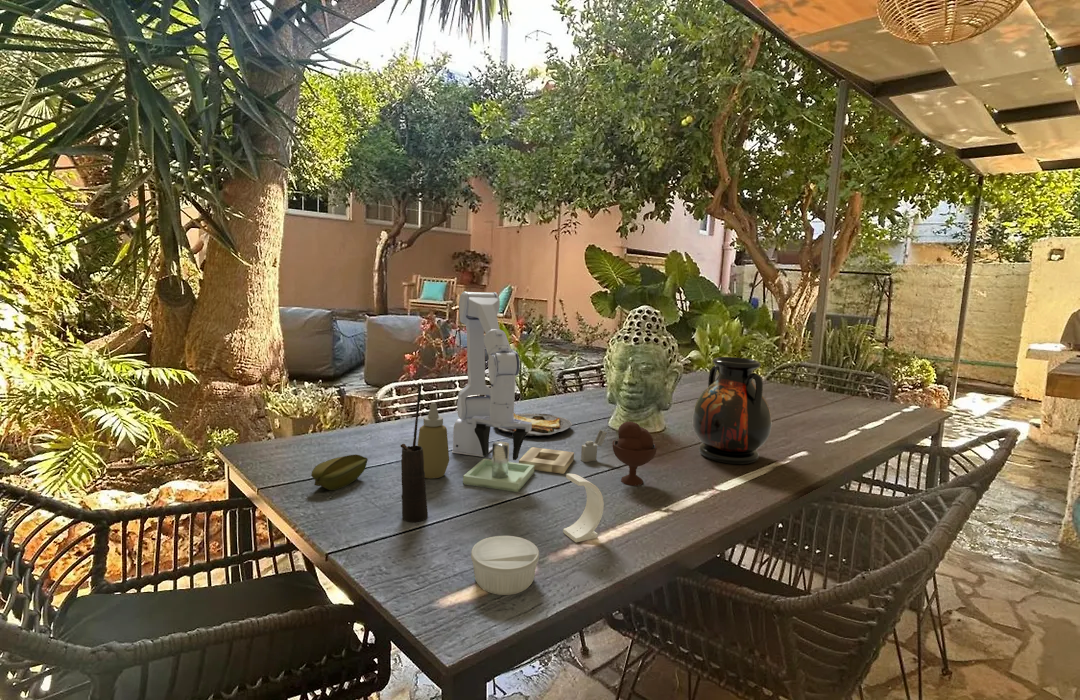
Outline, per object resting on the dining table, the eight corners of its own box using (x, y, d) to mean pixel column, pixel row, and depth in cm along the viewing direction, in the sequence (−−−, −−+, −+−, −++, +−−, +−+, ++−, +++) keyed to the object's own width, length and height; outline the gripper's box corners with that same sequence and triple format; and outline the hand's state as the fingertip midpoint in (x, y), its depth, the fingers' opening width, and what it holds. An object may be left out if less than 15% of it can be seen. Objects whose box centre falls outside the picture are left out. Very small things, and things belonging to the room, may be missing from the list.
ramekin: (503, 608, 88) (505, 576, 88) (455, 580, 96) (456, 550, 95) (552, 581, 97) (553, 551, 96) (504, 557, 104) (505, 529, 103)
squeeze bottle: (454, 472, 145) (456, 401, 143) (438, 483, 138) (440, 408, 135) (426, 467, 148) (427, 397, 145) (408, 477, 140) (409, 404, 138)
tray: (462, 484, 138) (463, 475, 137) (483, 466, 151) (483, 458, 150) (518, 492, 134) (518, 483, 134) (534, 472, 147) (534, 465, 147)
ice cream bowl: (627, 492, 137) (632, 430, 135) (601, 476, 147) (605, 418, 144) (663, 486, 142) (668, 426, 140) (635, 471, 151) (639, 415, 149)
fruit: (314, 477, 138) (314, 450, 137) (367, 474, 141) (367, 448, 140) (310, 496, 127) (310, 466, 126) (368, 492, 131) (368, 463, 130)
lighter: (584, 462, 157) (585, 433, 156) (580, 460, 159) (582, 431, 158) (605, 458, 161) (607, 430, 160) (601, 457, 162) (603, 429, 161)
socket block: (518, 467, 150) (518, 460, 150) (531, 454, 162) (531, 447, 162) (563, 473, 147) (564, 466, 147) (573, 459, 159) (574, 452, 159)
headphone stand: (563, 532, 115) (566, 473, 113) (588, 527, 117) (592, 469, 116) (575, 542, 111) (579, 481, 109) (601, 536, 113) (605, 477, 112)
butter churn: (377, 514, 119) (377, 379, 115) (417, 502, 126) (419, 374, 122) (401, 530, 113) (402, 387, 109) (442, 517, 119) (445, 382, 115)
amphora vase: (673, 449, 172) (681, 355, 168) (728, 442, 182) (736, 353, 178) (727, 473, 153) (737, 368, 149) (785, 463, 163) (795, 364, 159)
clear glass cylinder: (489, 477, 141) (489, 445, 140) (495, 472, 145) (496, 440, 144) (504, 479, 140) (505, 447, 139) (510, 474, 144) (511, 442, 143)
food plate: (481, 433, 180) (482, 422, 180) (507, 416, 202) (508, 406, 202) (559, 444, 173) (560, 432, 173) (578, 425, 195) (578, 414, 195)
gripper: (467, 402, 138) (466, 457, 140) (526, 408, 134) (524, 465, 136) (478, 396, 145) (476, 449, 146) (535, 402, 141) (532, 456, 143)
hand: (500, 456), depth 142 cm, fingers open, 7 cm apart
